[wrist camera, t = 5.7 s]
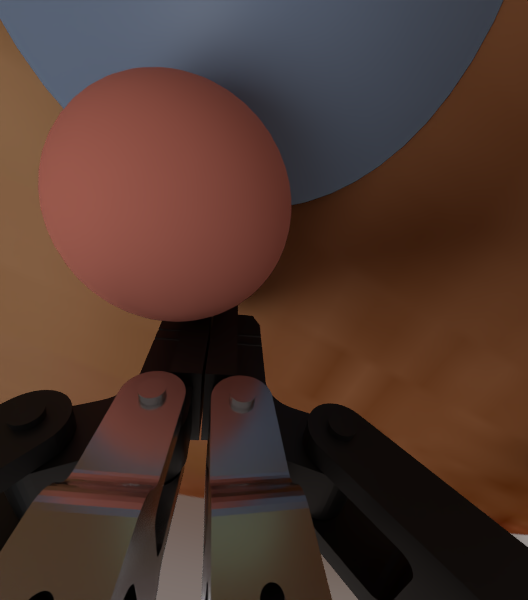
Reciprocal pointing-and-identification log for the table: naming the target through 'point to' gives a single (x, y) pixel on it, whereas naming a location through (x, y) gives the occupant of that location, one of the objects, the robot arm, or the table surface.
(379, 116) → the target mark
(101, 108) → the ball
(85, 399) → the table surface
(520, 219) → the table surface
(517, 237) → the table surface
